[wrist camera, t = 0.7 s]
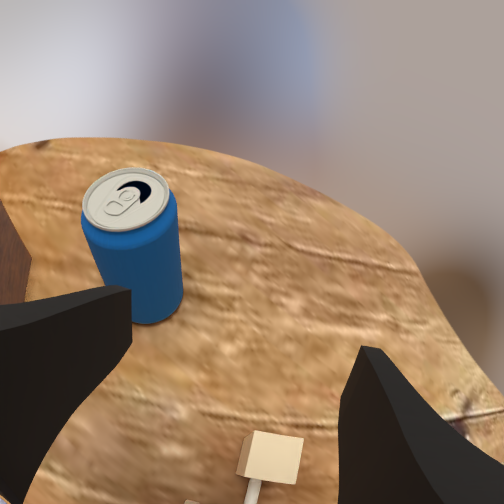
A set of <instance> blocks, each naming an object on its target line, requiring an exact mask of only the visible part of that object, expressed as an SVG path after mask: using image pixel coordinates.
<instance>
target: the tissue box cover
mask: <svg viewBox="0 0 504 504" xmlns="http://www.w3.org/2000/svg"><path fill="white" fill-rule="evenodd" d="M31 260H32V257H31V255H30V254H29V252H28V250H27V248H26V247H25V245H24V243H23V241H22V240H21V238H20V236H19V234H18V232H17V231H16V229H15V227H14V225H13V223H12V221H11V219H10V217H9V215H8V214H7V212H6V210H5V208H4V206H3V203H2V201H1V199H0V305H5V304H15V303H23V302H24V299H25V293H26V287H27V281H28V276H29V270H30V265H31Z"/></svg>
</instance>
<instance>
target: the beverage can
mask: <svg viewBox="0 0 504 504" xmlns="http://www.w3.org/2000/svg"><path fill="white" fill-rule="evenodd" d="M82 207H83V210H82V215H81V225H82V229H83V232H84V234H85V237H86V240H87V242H88V245H89V247H90V250H91V252H92V255H93V257H94V260H95V262H96V265H97V267H98V269H99V272H100V274H101V276H102V279H103V281H104V283H105V286H108V285H119V286H122V287H125V288H128V289H132V322H136V323H141V324H150V323H155V322H159V321H161V320H163V319H165V318H167V317H168V316H170V315H171V314H172V313H173V312H174V311H175V310H176V309H177V307H178V306H179V304H180V302H181V299H182V296H183V282H182V271H181V259H180V246H179V232H178V216H177V203H176V199H175V197H174V195H173V193H172V192H171V190H170V189H169V187H168V184H167V182H166V181H165V179H164V178H163V177H162V176H161V175H159V174H158V173H156V172H154V171H152V170H149V169H144V168H124V169H119V170H116V171H113V172H110V173H108V174H106V175H104V176H102V177H101V178H99V179H98V180H96V181H95V182H94V183H93V184H92V185H91V186H90V187H89V189H88V190H87V192H86V193H85V196H84V198H83V205H82Z"/></svg>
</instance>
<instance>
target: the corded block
mask: <svg viewBox="0 0 504 504" xmlns="http://www.w3.org/2000/svg"><path fill="white" fill-rule="evenodd" d="M303 441H304V439H303V438H296V437H290V436H283V435H278V434H272V433H266V432H261V431H256V430H254V431H253V432H252V433H250V434H249V435H248V436H246V437H245V438H244V440H243V445H242V449H241V453H240V458H239V462H238V466H237V470H236V474H237V475H240V476H243V477H248V478H251V479H250V480H249V484H248V488H247V493H246V497H245V501H244V504H257V500H258V496H259V492H260V487H261V483H262V481H261V480H266V481H272V482H279V483H287V484H295V483H296V478H297V473H298V468H299V463H300V457H301V452H302V447H303Z"/></svg>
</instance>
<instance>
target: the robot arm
mask: <svg viewBox="0 0 504 504" xmlns="http://www.w3.org/2000/svg"><path fill="white" fill-rule="evenodd" d="M131 344H132V289H128V288H125V287H122V286H119V285H108V286H102V287H97V288H92V289H88V290H83V291H79V292H74V293H70V294H65V295H61V296H56V297H51V298H46V299H41V300H35V301H30V302H23V303H15V304H5V305H0V495H1V496H3V497H4V498H5V499H6V500H7V501H9V502H10V503H11V504H23V502H24V499H25V496H26V494H27V492H28V489H29V487H30V485H31V483H32V480H33V478H34V476H35V474H36V472H37V470H38V468H39V466H40V464H41V462H42V461H43V459H44V457H45V455H46V453H47V452H48V450H49V448H50V447H51V445H52V443H53V442H54V440H55V439H56V437H57V435H58V434H59V432H60V431H61V429H62V428H63V427H64V425H65V424H66V422H67V421H68V419H69V418H70V417H71V415H72V414H73V413H74V411H75V410H76V409H77V408H78V407H79V405H80V404H81V403H82V402H83V401H84V400H85V399H86V398H87V397H88V396H89V395H90V394H91V392H92V391H93V390H94V389H95V388H96V387H97V386H98V385H99V384H100V383H101V382H102V381H103V380H104V379H105V378H106V376H107V375H108V374H109V373H110V372H111V371H112V370H113V369H114V368H115V367H116V365H117V364H118V363H119V362H120V360H121V359H122V357H123V356H124V354H125V353H126V351H127V350H128V348H129V347H130V345H131ZM338 446H339V496H338V504H504V465H503V464H501V463H500V462H498V461H496V460H495V459H493V458H492V457H490V456H489V455H487V454H486V453H484V452H483V451H481V450H480V449H479V448H477V447H476V446H474V445H473V444H472V443H470V442H469V441H468V440H467V439H465V438H464V437H463V436H462V435H460V434H459V433H458V432H457V431H456V430H455V429H454V428H452V427H451V426H450V425H449V424H448V423H447V422H446V421H445V420H444V419H442V418H441V417H440V416H439V415H438V414H437V413H436V412H435V411H434V409H433V408H432V407H431V406H430V405H429V404H428V403H427V402H426V401H425V400H424V399H423V398H422V397H421V395H420V394H419V393H418V392H417V391H416V390H415V389H414V387H413V386H412V385H411V384H410V383H409V382H408V380H407V379H406V378H405V377H404V376H403V374H402V373H401V372H400V371H399V369H398V368H397V367H396V366H395V364H394V363H393V362H392V361H391V360H390V358H389V357H388V356H387V355H386V354H385V353H384V352H383V351H382V350H381V349H379V348H374V347H368V346H362V345H361V347H360V350H359V353H358V355H357V358H356V361H355V363H354V366H353V368H352V371H351V373H350V376H349V378H348V381H347V383H346V386H345V388H344V390H343V393H342V395H341V399H340V409H339V420H338ZM0 504H7V503H6V502H4V501H3V500H2V499H1V498H0Z"/></svg>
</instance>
